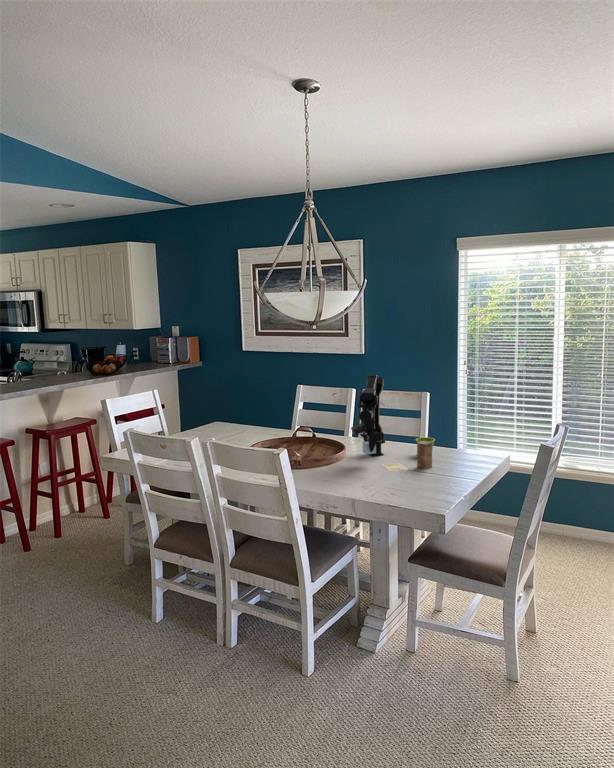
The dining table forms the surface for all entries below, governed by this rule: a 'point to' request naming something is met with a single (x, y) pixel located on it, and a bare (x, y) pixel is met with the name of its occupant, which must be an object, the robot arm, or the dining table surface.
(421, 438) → the plant pot
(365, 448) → the slate cube
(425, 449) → the wooden cuboid post
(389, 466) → the letter
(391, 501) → the dining table surface
